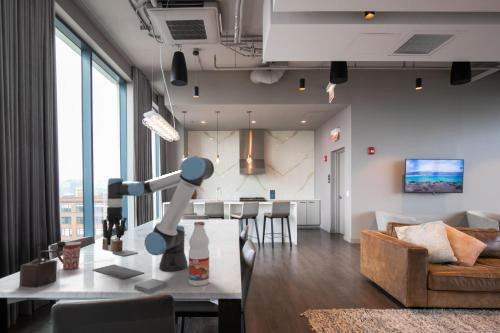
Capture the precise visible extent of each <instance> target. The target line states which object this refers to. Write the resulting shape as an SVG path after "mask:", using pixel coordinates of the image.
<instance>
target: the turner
mask: <svg viewBox="0 0 500 333" xmlns="http://www.w3.org/2000/svg"><path fill="white" fill-rule="evenodd" d="M111 239H113V240H112V251H110V252H111V253H112V255H115V256H119V257H122V258H125V257H126V258H127V257H130V256H134V255H138V254H139V251H134V250H128V249H123V243H124V241H123V240H122V239H120V240H117V239H115V238H112V237H111ZM101 247H102V248H101V249H102V250H104V251H108V245H107V238H104V237H103V238H102V246H101ZM108 252H109V251H108Z"/></svg>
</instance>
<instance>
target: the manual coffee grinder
mask: <svg viewBox="0 0 500 333" xmlns="http://www.w3.org/2000/svg"><path fill="white" fill-rule="evenodd" d="M66 243H67V242H65V241H64V240H63V241H61V240H59V241H58V242H57V243H56V246H57V248H56V250H42V247H40V246H39V247H38V248H37V249H38V250H37V252H38V254H37V255H38V256H37V258H36V259H33V260H32V261H31V262H27V263H24V264H20V266H19V267H20V268H19V283H18V285H19V286H20V285H21V286H20V287H27V286H28V287H29V288H30V287H31V288H39V286H40V287H42V286H45V285H48V284H51V283H53V282H54V281H56V280H57V279H58V278H57V273H58V272H57V270H58V263H57V262H58V261H57V260H55V259H54V260H53V259H52V260H51V259H47V258H44V257H42V255H41V254H43V253H56V252H59V253H60V252H63V247H64V246H65V245H66Z"/></svg>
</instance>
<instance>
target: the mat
mask: <svg viewBox="0 0 500 333" xmlns="http://www.w3.org/2000/svg"><path fill="white" fill-rule="evenodd" d="M92 271H93V272H97V273H99V272H100V274H103V275H106V276H109V277H113V278H116V279H119V280H122V281H124V280H126V279H131V278H133V277H137V276H140V275H143V274H145V272H144V271H140V270H136V269H133V268H128V267H125V266H121V265H117V264H115V263H114V264H109V265H106V266H102V267H97V268H94V269H92Z"/></svg>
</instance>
